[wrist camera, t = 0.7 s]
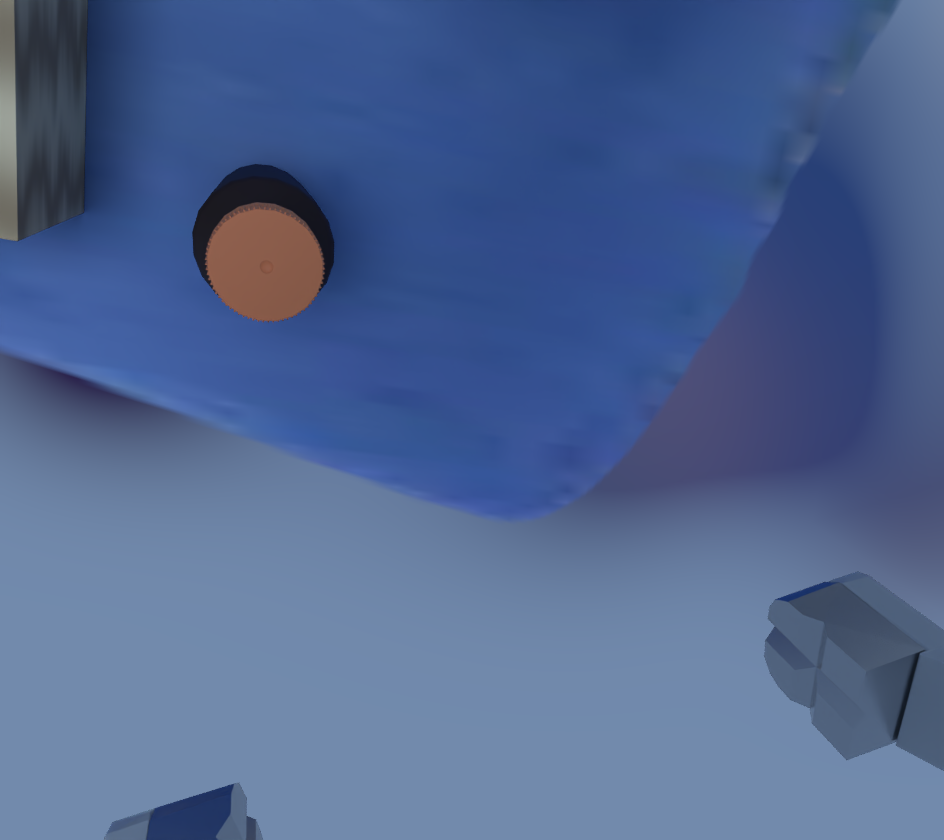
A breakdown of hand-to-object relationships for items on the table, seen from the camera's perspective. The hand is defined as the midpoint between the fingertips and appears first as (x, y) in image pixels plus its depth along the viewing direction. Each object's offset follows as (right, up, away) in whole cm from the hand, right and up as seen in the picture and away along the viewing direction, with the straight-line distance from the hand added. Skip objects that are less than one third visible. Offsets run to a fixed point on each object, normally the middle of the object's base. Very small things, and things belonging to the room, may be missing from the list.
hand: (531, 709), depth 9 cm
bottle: (-15, +19, +36) cm, 43 cm away
